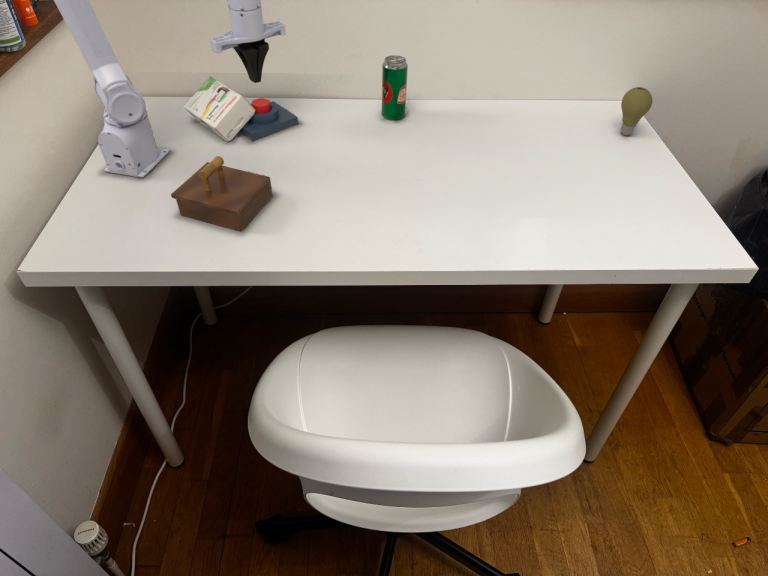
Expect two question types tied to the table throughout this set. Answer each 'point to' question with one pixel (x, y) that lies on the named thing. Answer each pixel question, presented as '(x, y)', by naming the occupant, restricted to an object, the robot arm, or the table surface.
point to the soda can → (394, 87)
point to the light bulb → (634, 108)
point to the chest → (227, 218)
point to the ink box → (220, 109)
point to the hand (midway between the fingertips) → (255, 80)
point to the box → (268, 122)
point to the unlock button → (261, 105)
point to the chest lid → (221, 187)
